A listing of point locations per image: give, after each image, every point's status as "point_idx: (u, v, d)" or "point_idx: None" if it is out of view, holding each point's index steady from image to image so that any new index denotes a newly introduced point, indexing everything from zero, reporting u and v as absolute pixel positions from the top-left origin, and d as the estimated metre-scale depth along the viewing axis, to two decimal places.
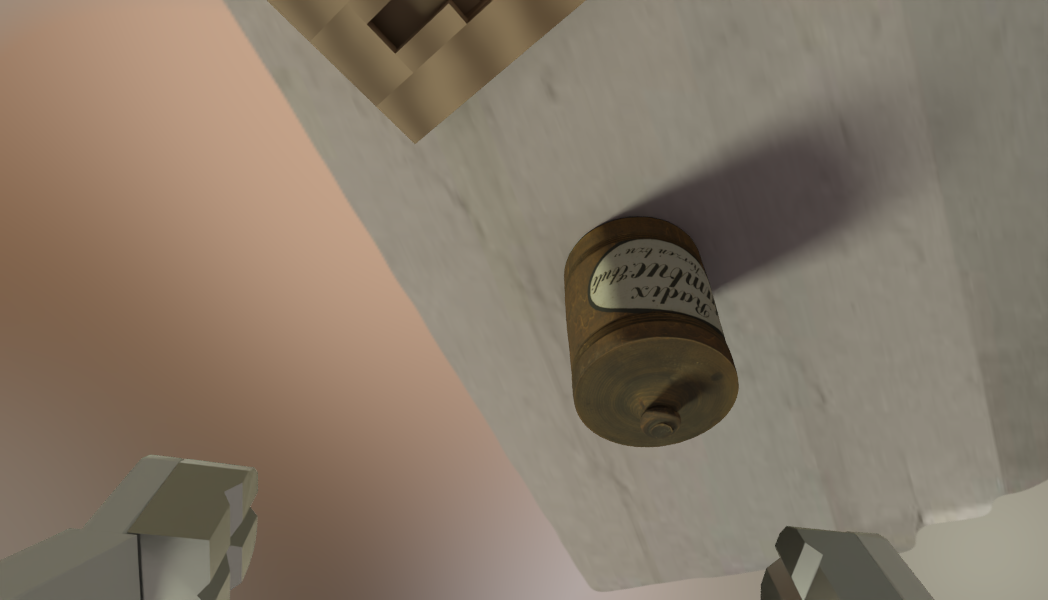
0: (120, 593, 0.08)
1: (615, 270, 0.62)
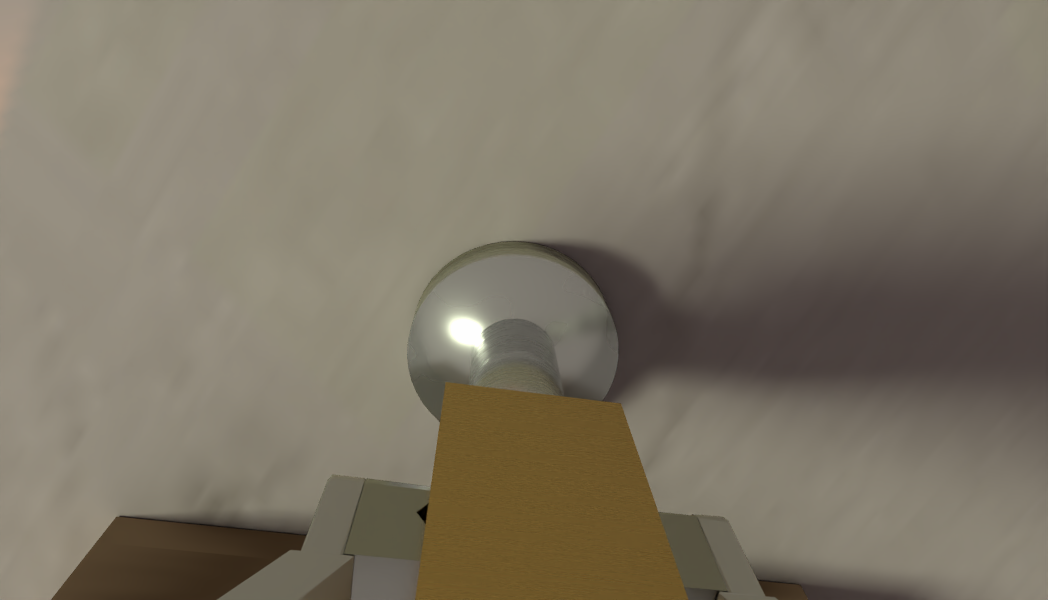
0: None
1: None
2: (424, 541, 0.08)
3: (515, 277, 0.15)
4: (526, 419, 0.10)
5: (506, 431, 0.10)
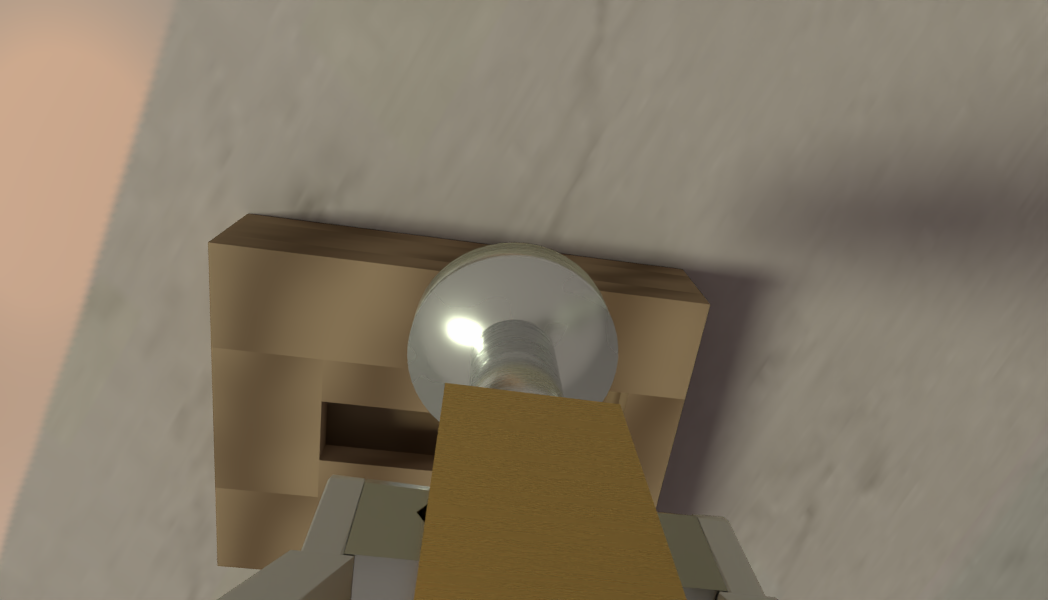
0: None
1: None
2: (423, 541, 0.08)
3: (515, 278, 0.15)
4: (525, 420, 0.10)
5: (505, 432, 0.10)
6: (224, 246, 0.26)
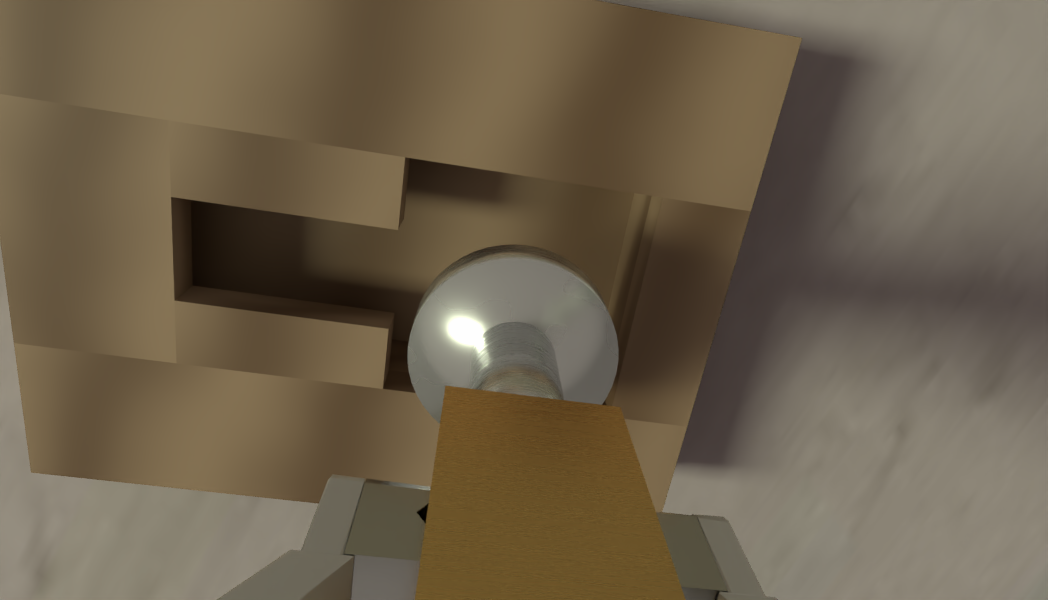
0: None
1: None
2: (423, 545, 0.08)
3: (515, 280, 0.15)
4: (525, 423, 0.10)
5: (506, 435, 0.10)
6: None
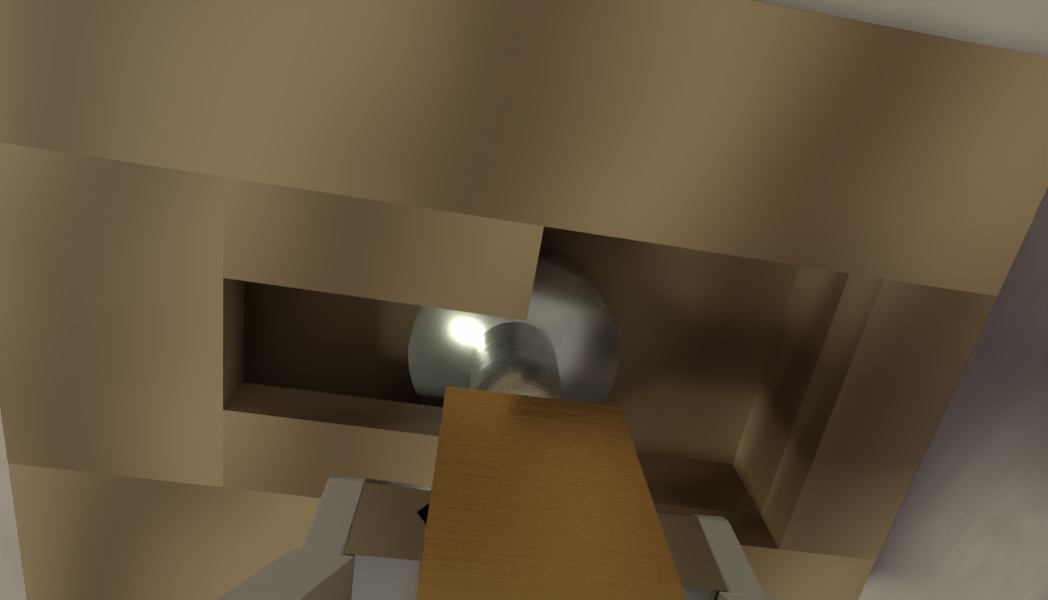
0: None
1: None
2: (424, 545, 0.08)
3: None
4: (526, 423, 0.10)
5: (506, 435, 0.10)
6: None
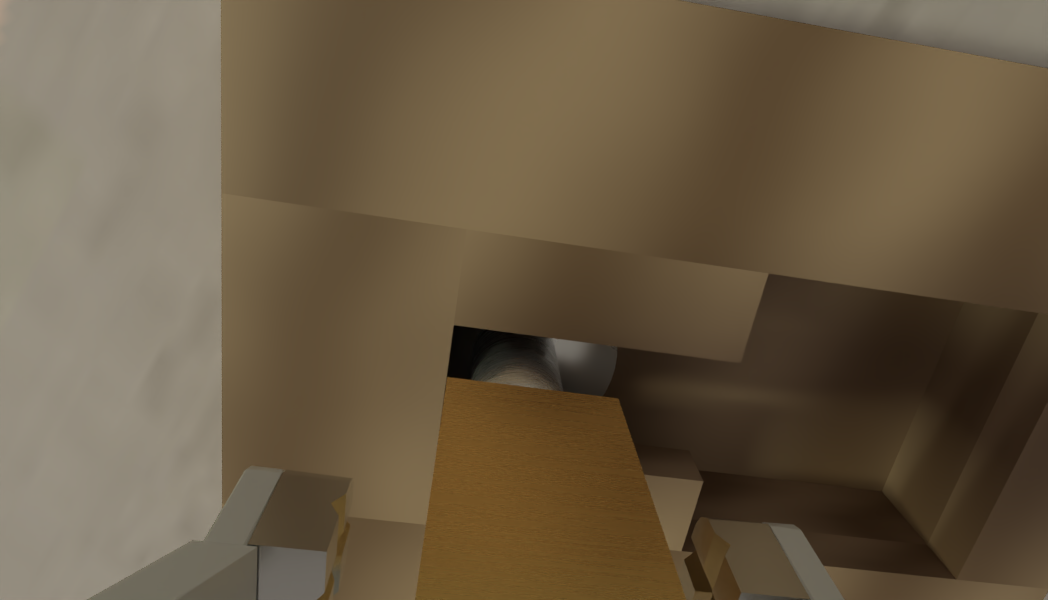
0: None
1: None
2: (426, 527, 0.08)
3: None
4: (525, 412, 0.11)
5: (506, 424, 0.10)
6: None
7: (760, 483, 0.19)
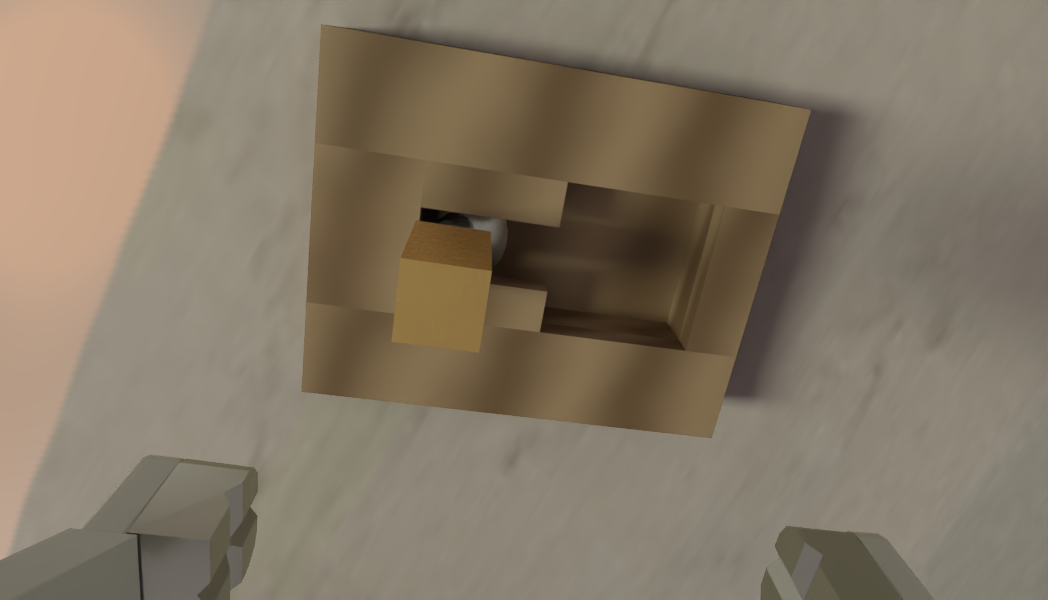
0: (120, 593, 0.08)
1: None
2: (405, 247, 0.23)
3: None
4: (448, 231, 0.26)
5: (438, 232, 0.25)
6: (336, 30, 0.26)
7: (595, 315, 0.34)
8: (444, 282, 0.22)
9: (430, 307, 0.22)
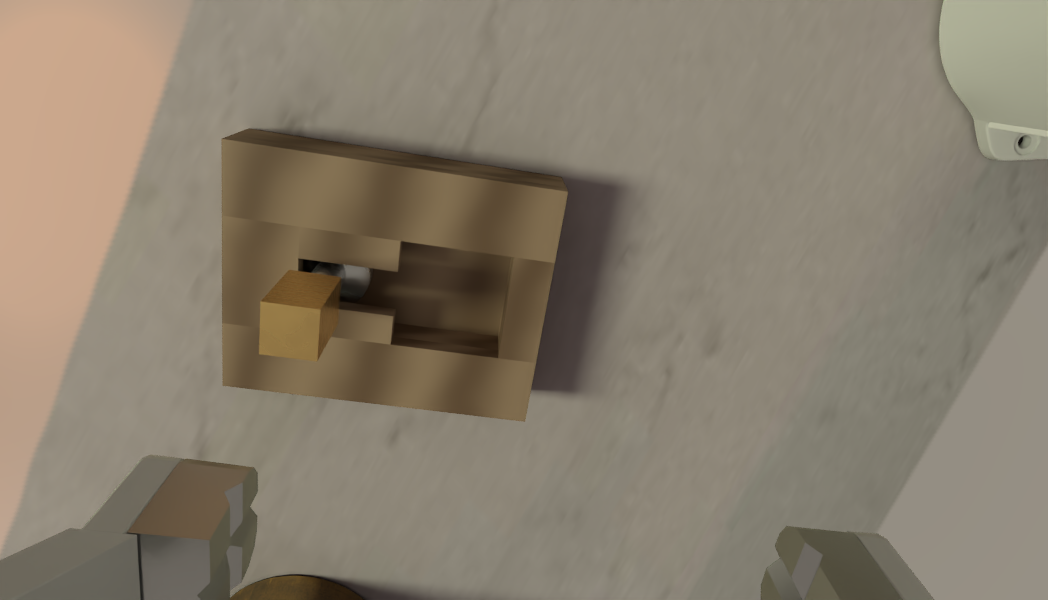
0: (120, 593, 0.08)
1: None
2: (268, 293, 0.35)
3: None
4: (308, 277, 0.38)
5: (300, 279, 0.37)
6: (232, 142, 0.38)
7: (442, 330, 0.46)
8: (290, 316, 0.34)
9: (282, 332, 0.34)
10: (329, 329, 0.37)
